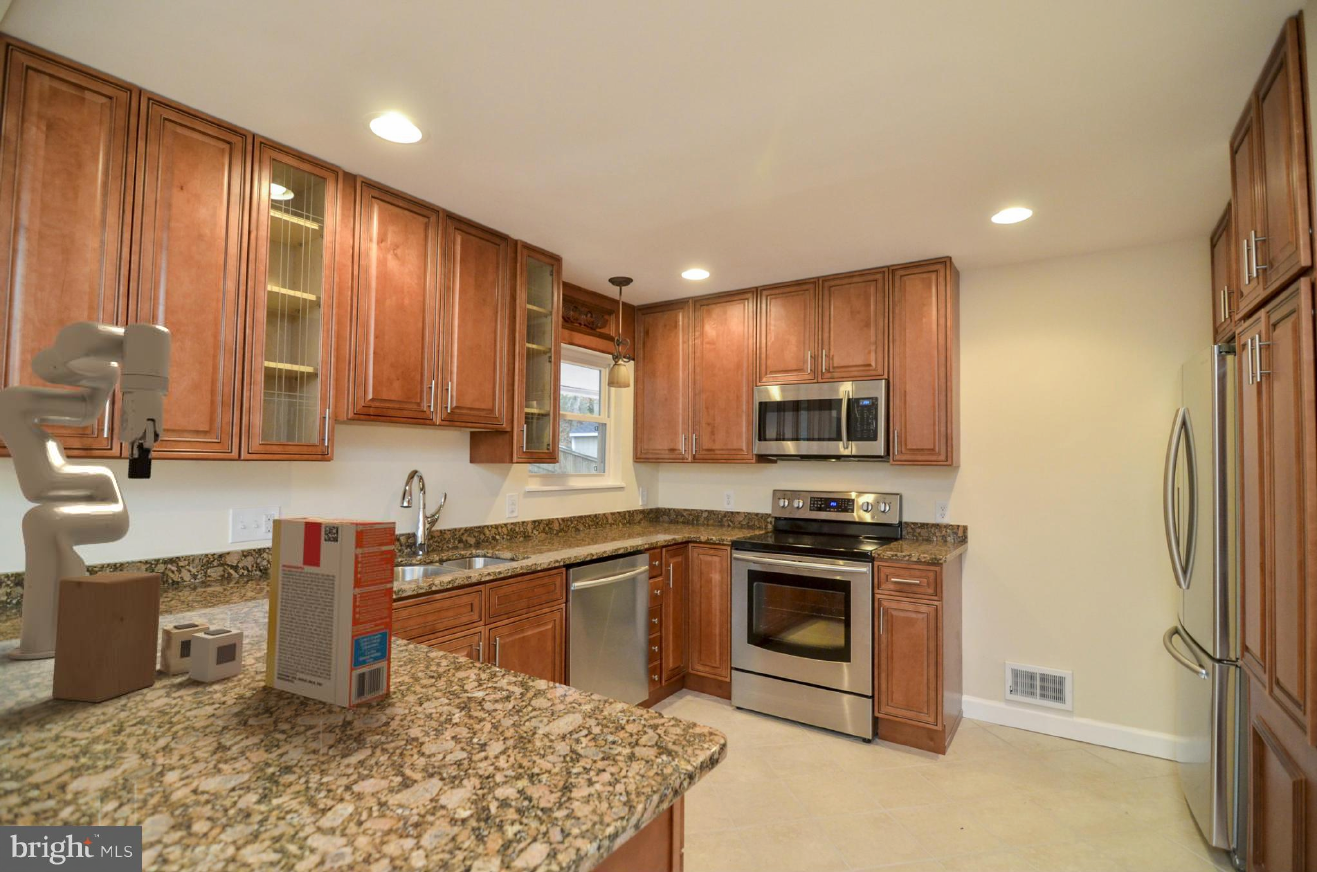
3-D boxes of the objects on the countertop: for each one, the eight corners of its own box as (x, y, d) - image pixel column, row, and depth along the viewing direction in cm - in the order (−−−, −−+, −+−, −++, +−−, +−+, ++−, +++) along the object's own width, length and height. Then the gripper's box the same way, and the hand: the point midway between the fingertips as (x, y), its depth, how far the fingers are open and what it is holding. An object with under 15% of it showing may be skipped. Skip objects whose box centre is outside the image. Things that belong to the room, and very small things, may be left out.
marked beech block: (159, 669, 123) (162, 626, 124) (196, 662, 128) (198, 620, 129) (171, 675, 119) (173, 631, 120) (207, 667, 124) (210, 625, 125)
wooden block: (97, 703, 104) (105, 581, 106) (50, 698, 106) (58, 579, 108) (156, 684, 114) (163, 572, 116) (112, 680, 116) (119, 570, 118)
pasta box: (389, 693, 111) (395, 521, 113) (348, 707, 104) (355, 524, 106) (307, 673, 121) (314, 516, 123) (265, 685, 114) (273, 519, 116)
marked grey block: (188, 677, 118) (191, 632, 119) (222, 669, 124) (225, 626, 124) (208, 683, 115) (210, 637, 116) (242, 674, 121) (244, 630, 121)
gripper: (109, 387, 127) (103, 478, 126) (132, 381, 118) (126, 479, 117) (155, 391, 133) (150, 478, 132) (180, 386, 124) (175, 479, 123)
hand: (139, 478), depth 125 cm, fingers closed
